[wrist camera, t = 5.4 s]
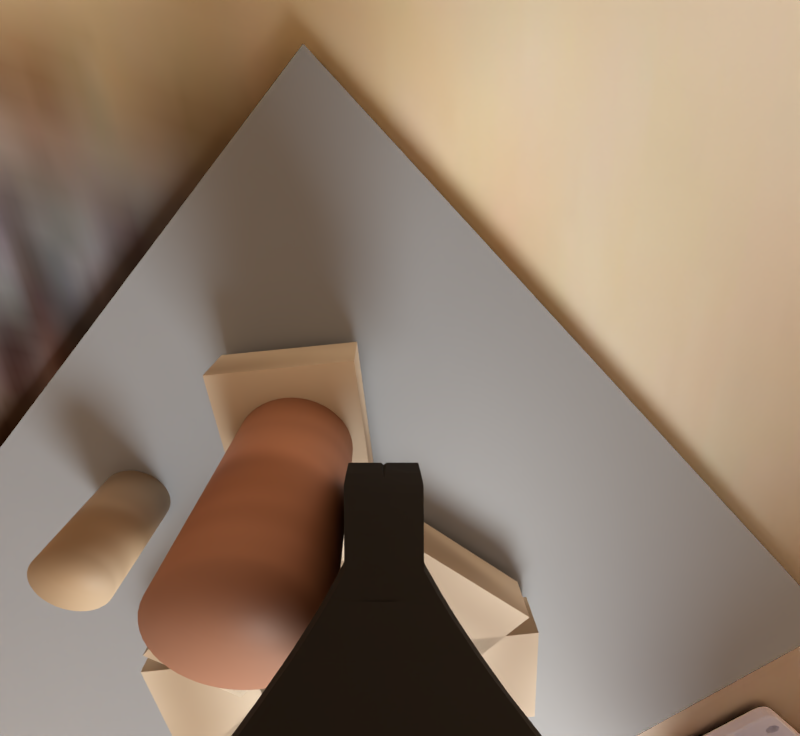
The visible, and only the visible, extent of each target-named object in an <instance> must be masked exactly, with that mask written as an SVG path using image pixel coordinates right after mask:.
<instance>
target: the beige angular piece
mask: <svg viewBox="0 0 800 736" xmlns="http://www.w3.org/2000/svg"><path fill="white" fill-rule="evenodd" d="M203 379H204V383H205V386H206V390H207V393H208V396H209V400H210V403H211V407H212V410H213V414H214V417H215V420H216V424H217V427H218V431H219V434H220V437H221V441H222V444H223V448H224V451H225V454H224V456H223V458H222V460H221V461H220V463H219V465H218V467H217V468H216V470H215V472H214V474H213V475H212V477H211V479H210V480H209V482H208V484H207V486H206V487H205V489H204V491H203V493H202V494H201V496H200V498H199V500H198V501H197V503H196V505H195V507H194V508H193V510H192V512H191V513H190V515H189V517H188V519H187V520H186V522H185V524H184V526H183V527H182V529H181V531H180V533H179V534H178V536H177V538H176V540H175V541H174V543H173V545H172V546H171V548H170V550H169V552H168V553H167V555H166V557H165V559H164V560H163V562H162V564H161V566H160V567H159V569H158V571H157V572H156V574H155V576H154V578H153V579H152V581H151V583H150V585H149V586H148V588H147V590H146V592H145V593H144V595H143V597H142V600H141V602H140V605H139V609H138V626H139V631H140V634H141V636H142V639H143V641H144V642H145V644H146V646H147V648H146V650H145V652H144V654H143V656H145V657H147V660H146V662H145V664H144V666H143V668H142V670H141V674H142V676H143V678H144V680H145V682H146V684H147V686H148V688H149V690H150V692H151V694H152V696H153V698H154V700H155V702H156V704H157V706H158V708H159V710H160V712H161V714H162V716H163V718H164V720H165V722H166V724H167V726H168V728H169V730H170V732H171V734H172V736H231V735H232V734H233V733H234V731H235V730H236V729H237V727H238V726H239V725H240V723H241V722H242V721H243V719H244V718H245V717H246V715H247V714H248V713H249V711H250V710H251V708H252V707H253V706H254V704H255V703H256V702H257V700H258V699H259V697H260V696H261V694H262V693H263V692H264V690H265V689H266V687H267V686H268V684H269V683H270V681H271V680H272V679H273V677H274V676H275V674H276V673H277V671H278V670H279V668H280V667H281V666H282V664H283V663H284V661H285V660H286V658H287V657H288V656H289V654H290V653H291V651H292V650H293V648H294V646H295V645H296V643H297V642H298V640H299V639H300V637H301V636H302V634H303V632H304V631H305V629H306V628H307V626H308V625H309V623H310V621H311V620H312V618H313V616H314V615H315V613H316V612H317V610H318V608H319V607H320V605H321V603H322V601H323V600H324V598H325V596H326V595H327V593H328V591H329V589H330V588H331V586H332V584H333V582H334V580H335V578H336V576H337V574H338V573H339V571H340V569H341V567H342V565H343V563H344V481H345V476H346V471H347V467H348V463H373V456H372V448H371V441H370V434H369V426H368V419H367V412H366V404H365V397H364V390H363V382H362V375H361V368H360V360H359V353H358V346H357V342H349V343H339V344H329V345H319V346H309V347H299V348H288V349H278V350H268V351H258V352H248V353H238V354H227V355H221V356H220V357H219V358H218V359H217V361H216V362H215V363H214V364H213V365H212V366H211V367H210V368H209V369H208V370H207V371H206V372H205V374H204V375H203ZM424 563H425V565H426V567H427V569H428V570H429V572H430V574H431V576H432V577H433V579H434V581H435V583H436V585H437V586H438V588H439V590H440V592H441V593H442V595H443V597H444V598H445V600H446V602H447V603H448V605H449V607H450V608H451V610H452V611H453V613H454V615H455V616H456V618H457V619H458V621H459V623H460V624H461V626H462V627H463V629H464V630H465V632H466V633H467V635H468V636H469V638H470V639H471V641H472V642H473V644H474V645H475V647H476V648H477V650H478V651H479V653H480V654H481V655H482V657H483V658H484V660H485V661H486V662H487V664H488V665H489V667H490V668H491V669H492V671H493V672H494V674H495V675H496V676H497V678H498V679H499V681H500V682H501V683H502V685H503V686H504V688H505V689H506V690H507V692H508V693H509V694H510V696H511V697H512V698H513V700H514V701H515V702H516V703H517V705H518V706H519V707H520V709H521V710H522V711H523V712H524V714H525V715H526V716H527V717H534V716H535V699H536V679H537V658H538V638H539V632H538V629H537V626H536V624H535V621H534V618H533V615H532V612H531V609H530V606H529V603H528V601H527V598H526V597H522V594H521V591H520V588H519V585H518V582H517V581H515V580H514V579H512V578H511V577H509V576H507V575H506V574H504V573H503V572H501V571H500V570H498V569H496V568H495V567H493V566H492V565H490V564H489V563H487V562H486V561H484V560H482V559H481V558H479V557H478V556H476V555H475V554H473V553H471V552H470V551H468V550H467V549H465V548H464V547H462V546H461V545H459V544H457V543H456V542H454V541H453V540H451V539H450V538H448V537H446V536H445V535H443V534H442V533H440V532H439V531H437V530H436V529H434V528H432V527H431V526H429V525H428V524H426V523H425V522H424Z"/></svg>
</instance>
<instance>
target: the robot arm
mask: <svg viewBox="0 0 800 736" xmlns="http://www.w3.org/2000/svg"><path fill="white" fill-rule="evenodd" d="M231 736H542V735H541V734H540V733H539V731H538V730H537V729H536V728H535V726H534V725H533V724H532V722H531V721H530V720H529V719H528V717H527V716H526V715H525V714H524V712H523V711H522V710H521V709H520V707H519V706H518V705H517V703H516V702H515V701H514V700H513V698H512V697H511V696H510V694H509V693H508V692H507V690H506V689H505V688H504V686H503V685H502V683H501V682H500V681H499V679H498V678H497V676H496V675H495V674H494V672H493V671H492V669H491V668H490V667H489V665H488V664H487V662H486V661H485V660H484V658H483V657H482V655H481V654H480V653H479V651H478V650H477V648H476V647H475V645H474V644H473V642H472V641H471V639H470V638H469V636H468V635H467V633H466V632H465V630H464V629H463V627H462V626H461V624H460V623H459V621H458V619H457V618H456V616H455V615H454V613H453V611H452V610H451V608H450V607H449V605H448V603H447V602H446V600H445V598H444V597H443V595H442V593H441V592H440V590H439V588H438V586H437V585H436V583H435V581H434V579H433V577H432V576H431V574H430V572H429V570H428V569H427V567H426V565H425V563H424V485H423V480H422V476H421V471H420V467H419V464H418V463H385V464H384V465H383V464H382V463H348V467H347V471H346V476H345V481H344V563H343V565H342V567H341V569H340V571H339V573H338V574H337V576H336V578H335V580H334V582H333V584H332V586H331V588H330V589H329V591H328V593H327V595H326V596H325V598H324V600H323V601H322V603H321V605H320V607H319V608H318V610H317V612H316V613H315V615H314V616H313V618H312V620H311V621H310V623H309V625H308V626H307V628H306V629H305V631H304V632H303V634H302V636H301V637H300V639H299V640H298V642H297V643H296V645H295V646H294V648H293V650H292V651H291V653H290V654H289V656H288V657H287V658H286V660H285V661H284V663H283V664H282V666H281V667H280V668H279V670H278V671H277V673H276V674H275V676H274V677H273V679H272V680H271V681H270V683H269V684H268V686H267V687H266V689H265V690H264V692H263V693H262V694H261V696H260V697H259V699H258V700H257V702H256V703H255V704H254V706H253V707H252V708H251V710H250V711H249V713H248V714H247V715H246V717H245V718H244V719H243V721H242V722H241V723H240V725H239V726H238V727H237V729H236V730H235V731H234V733H233V734H232V735H231ZM703 736H800V734H799V733H798V732H797V731H796V730H795V729H794V728H792V727H791V726H790V725H789V724H788V723H787V722H785V721H784V720H783V719H782V718H781V717H780V716H779V715H777V714H776V713H775V712H774V711H773V710H772V709H770V708H768V707H757V708H755V709H753V710H751V711H749V712H747V713H745V714H743V715H741V716H739V717H737V718H735V719H734V720H732V721H730V722H728V723H726V724H724V725H722V726H720V727H718V728H716V729H714V730H713V731H711V732H709V733H707V734H705V735H703Z"/></svg>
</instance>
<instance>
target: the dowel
mask: <svg viewBox="0 0 800 736" xmlns="http://www.w3.org/2000/svg"><path fill="white" fill-rule="evenodd" d="M170 504H171V500H170V495H169V493H168V491H167V489H166V488H165V486H164V485H163V484H162V483H161V482H160V481H159V480H157V479H156V478H154V477H153V476H151V475H148V474H146V473H143V472H139V471H122V472H118V473H116V474H114V475H112V476H111V477H109V478H108V479H107V480H106V481H105V483H104V484H103V485H102V486H101V487H100V488H99V489H98V490H97V491H96V492H95V493H94V494H93V496H92V497H91V498H90V499H89V500H88V501H87V502H86V503H85V504H84V505H83V506H82V507H81V509H80V510H79V511H78V512H77V513H76V514H75V515H74V516H73V517H72V518H71V519H70V520H69V522H68V523H67V524H66V525H65V526H64V527H63V528H62V529H61V530H60V531H59V532H58V534H57V535H56V536H55V537H54V538H53V539H52V540H51V541H50V542H49V543H48V544H47V545H46V547H45V548H44V549H43V550H42V551H41V552H40V553H39V554H38V555H37V556H36V557H35V558H34V560H33V561H32V562H31V563H30V565H29V567H28V570H27V579H28V582H29V584H30V586H31V588H32V589H33V591H34V592H35V593H36V594H37V595H38V596H39V597H41V598H42V599H43V600H45V601H46V602H48V603H50V604H52V605H54V606H56V607H59V608H62V609H66V610H71V611H90V610H95V609H98V608H100V607H102V606H104V605H106V604H107V603H108V602H109V601H110V600H111V599H112V597H113V596H114V594H115V592H116V591H117V589H118V588H119V586H120V585H121V583H122V582H123V580H124V579H125V577H126V576H127V574H128V572H129V571H130V569H131V568H132V566H133V565H134V563H135V562H136V560H137V559H138V557H139V555H140V554H141V552H142V551H143V549H144V548H145V546H146V545H147V543H148V542H149V540H150V538H151V537H152V535H153V534H154V532H155V531H156V529H157V528H158V526H159V525H160V523H161V521H162V520H163V518H164V517H165V515H166V514H167V512H168V510H169V508H170Z"/></svg>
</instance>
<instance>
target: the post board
mask: <svg viewBox="0 0 800 736" xmlns="http://www.w3.org/2000/svg"><path fill="white" fill-rule="evenodd" d="M349 342H357V346H358V353H359V360H360V368H361V375H362V382H363V390H364V397H365V404H366V412H367V419H368V426H369V434H370V441H371V448H372V456H373V463H382V464H383V465H384V464H385V463H418V464H419V467H420V471H421V476H422V480H423V485H424V522H425V523H426V524H428V525H429V526H431V527H432V528H434V529H436V530H437V531H439V532H440V533H442V534H443V535H445V536H446V537H448V538H450V539H451V540H453V541H454V542H456V543H457V544H459V545H461V546H462V547H464V548H465V549H467V550H468V551H470V552H471V553H473V554H475V555H476V556H478V557H479V558H481V559H482V560H484V561H486V562H487V563H489V564H490V565H492V566H493V567H495V568H496V569H498V570H500V571H501V572H503V573H504V574H506V575H507V576H509V577H511V578H512V579H514V580H515V581H517V582H518V585H519V588H520V591H521V594H522V597H526V598H527V601H528V603H529V606H530V609H531V612H532V615H533V618H534V621H535V624H536V626H537V629H538V632H539V638H538V658H537V679H536V699H535V716H534V717H528V719H529V720H530V721H531V722H532V724H533V725H534V726H535V728H536V729H537V730H538V731H539V733H540V734H541V735H542V736H637V735H639V734H641V733H642V732H644V731H646V730H648V729H650V728H652V727H653V726H655V725H657V724H659V723H661V722H663V721H664V720H666V719H668V718H670V717H672V716H673V715H675V714H677V713H679V712H681V711H683V710H684V709H686V708H688V707H690V706H692V705H693V704H695V703H697V702H699V701H701V700H703V699H704V698H706V697H708V696H710V695H712V694H714V693H715V692H717V691H719V690H721V689H723V688H724V687H726V686H728V685H730V684H732V683H734V682H735V681H737V680H739V679H741V678H743V677H744V676H746V675H748V674H750V673H752V672H754V671H755V670H757V669H759V668H761V667H763V666H764V665H766V664H768V663H770V662H772V661H774V660H775V659H777V658H779V657H781V656H783V655H785V654H786V653H788V652H790V651H792V650H794V649H795V648H797V647H799V646H800V585H799V584H798V583H797V582H796V581H795V580H794V579H793V578H792V577H791V575H790V574H789V573H788V572H787V571H786V570H785V569H784V568H783V567H782V566H781V565H780V563H779V562H778V561H777V560H776V559H775V558H774V557H773V556H772V555H771V554H770V553H769V551H768V550H767V549H766V548H765V547H764V546H763V545H762V544H761V543H760V542H759V541H758V539H757V538H756V537H755V536H754V535H753V534H752V533H751V532H750V531H749V530H748V529H747V527H746V526H745V525H744V524H743V523H742V522H741V521H740V520H739V519H738V518H737V517H736V515H735V514H734V513H733V512H732V511H731V510H730V509H729V508H728V507H727V506H726V505H725V503H724V502H723V501H722V500H721V499H720V498H719V497H718V496H717V495H716V494H715V493H714V491H713V490H712V489H711V488H710V487H709V486H708V485H707V484H706V483H705V482H704V481H703V479H702V478H701V477H700V476H699V475H698V474H697V473H696V472H695V471H694V470H693V469H692V467H691V466H690V465H689V464H688V463H687V462H686V461H685V460H684V459H683V458H682V457H681V455H680V454H679V453H678V452H677V451H676V450H675V449H674V448H673V447H672V446H671V445H670V443H669V442H668V441H667V440H666V439H665V438H664V437H663V436H662V435H661V434H660V433H659V431H658V430H657V429H656V428H655V427H654V426H653V425H652V424H651V423H650V422H649V421H648V419H647V418H646V417H645V416H644V415H643V414H642V413H641V412H640V411H639V410H638V409H637V407H636V406H635V405H634V404H633V403H632V402H631V401H630V400H629V399H628V398H627V397H626V395H625V394H624V393H623V392H622V391H621V390H620V389H619V388H618V387H617V386H616V385H615V383H614V382H613V381H612V380H611V379H610V378H609V377H608V376H607V375H606V374H605V373H604V371H603V370H602V369H601V368H600V367H599V366H598V365H597V364H596V363H595V362H594V361H593V359H592V358H591V357H590V356H589V355H588V354H587V353H586V352H585V351H584V350H583V349H582V347H581V346H580V345H579V344H578V343H577V342H576V341H575V340H574V339H573V338H572V337H571V335H570V334H569V333H568V332H567V331H566V330H565V329H564V328H563V327H562V326H561V325H560V323H559V322H558V321H557V320H556V319H555V318H554V317H553V316H552V315H551V314H550V313H549V311H548V310H547V309H546V308H545V307H544V306H543V305H542V304H541V303H540V302H539V301H538V299H537V298H536V297H535V296H534V295H533V294H532V293H531V292H530V291H529V290H528V289H527V287H526V286H525V285H524V284H523V283H522V282H521V281H520V280H519V279H518V278H517V277H516V275H515V274H514V273H513V272H512V271H511V270H510V269H509V268H508V267H507V266H506V265H505V263H504V262H503V261H502V260H501V259H500V258H499V257H498V256H497V255H496V254H495V253H494V251H493V250H492V249H491V248H490V247H489V246H488V245H487V244H486V243H485V242H484V241H483V239H482V238H481V237H480V236H479V235H478V234H477V233H476V232H475V231H474V230H473V229H472V227H471V226H470V225H469V224H468V223H467V222H466V221H465V220H464V219H463V218H462V217H461V215H460V214H459V213H458V212H457V211H456V210H455V209H454V208H453V207H452V206H451V204H450V203H449V202H448V201H447V200H446V199H445V198H444V197H443V196H442V195H441V194H440V192H439V191H438V190H437V189H436V188H435V187H434V186H433V185H432V184H431V183H430V182H429V180H428V179H427V178H426V177H425V176H424V175H423V174H422V173H421V172H420V171H419V170H418V168H417V167H416V166H415V165H414V164H413V163H412V162H411V161H410V160H409V159H408V158H407V156H406V155H405V154H404V153H403V152H402V151H401V150H400V149H399V148H398V147H397V146H396V144H395V143H394V142H393V141H392V140H391V139H390V138H389V137H388V136H387V135H386V134H385V132H384V131H383V130H382V129H381V128H380V127H379V126H378V125H377V124H376V123H375V122H374V120H373V119H372V118H371V117H370V116H369V115H368V114H367V113H366V112H365V111H364V110H363V108H362V107H361V106H360V105H359V104H358V103H357V102H356V101H355V100H354V99H353V98H352V96H351V95H350V94H349V93H348V92H347V91H346V90H345V89H344V88H343V87H342V86H341V84H340V83H339V82H338V81H337V80H336V79H335V78H334V77H333V76H332V75H331V74H330V72H329V71H328V70H327V69H326V68H325V67H324V66H323V65H322V64H321V63H320V62H319V60H318V59H317V58H316V57H315V56H314V55H313V54H312V53H311V52H310V51H309V50H308V48H307V47H306V46H305V45H304V44H302V46H301V47H300V48H299V50H298V51H297V52H296V54H295V55H294V56H293V58H292V59H291V60H290V62H289V63H288V64H287V66H286V67H285V68H284V70H283V71H282V72H281V74H280V75H279V76H278V78H277V79H276V80H275V82H274V83H273V84H272V86H271V87H270V88H269V90H268V91H267V92H266V94H265V95H264V96H263V98H262V99H261V100H260V102H259V103H258V104H257V106H256V107H255V108H254V110H253V111H252V112H251V114H250V115H249V116H248V118H247V119H246V120H245V122H244V123H243V124H242V126H241V127H240V128H239V130H238V131H237V132H236V134H235V135H234V136H233V138H232V139H231V140H230V142H229V143H228V144H227V146H226V147H225V148H224V150H223V151H222V152H221V154H220V155H219V156H218V158H217V159H216V160H215V162H214V163H213V164H212V166H211V167H210V168H209V170H208V171H207V172H206V174H205V175H204V176H203V178H202V179H201V180H200V182H199V183H198V184H197V186H196V187H195V189H194V190H193V191H192V193H191V194H190V195H189V197H188V198H187V199H186V201H185V202H184V203H183V205H182V206H181V207H180V209H179V210H178V211H177V213H176V214H175V215H174V217H173V218H172V219H171V221H170V222H169V223H168V225H167V226H166V227H165V229H164V230H163V231H162V233H161V234H160V235H159V237H158V238H157V239H156V241H155V242H154V243H153V245H152V246H151V247H150V249H149V250H148V251H147V253H146V254H145V255H144V257H143V258H142V259H141V261H140V262H139V263H138V265H137V266H136V267H135V269H134V270H133V271H132V273H131V274H130V275H129V277H128V278H127V279H126V281H125V282H124V283H123V285H122V286H121V287H120V289H119V290H118V291H117V293H116V294H115V295H114V297H113V298H112V299H111V301H110V302H109V303H108V305H107V306H106V307H105V309H104V310H103V311H102V313H101V314H100V315H99V317H98V318H97V319H96V321H95V322H94V323H93V325H92V326H91V327H90V329H89V330H88V331H87V333H86V334H85V335H84V337H83V338H82V339H81V341H80V342H79V343H78V345H77V346H76V347H75V349H74V350H73V351H72V353H71V354H70V355H69V357H68V358H67V359H66V361H65V362H64V363H63V365H62V366H61V367H60V369H59V370H58V371H57V373H56V374H55V375H54V377H53V378H52V379H51V381H50V382H49V383H48V385H47V386H46V387H45V389H44V390H43V391H42V393H41V394H40V395H39V397H38V398H37V399H36V401H35V402H34V403H33V405H32V406H31V407H30V409H29V410H28V411H27V413H26V414H25V415H24V417H23V418H22V419H21V421H20V422H19V423H18V425H17V426H16V427H15V429H14V430H13V431H12V433H11V434H10V435H9V437H8V438H7V439H6V441H5V442H4V443H3V445H2V446H1V447H0V736H172V734H171V732H170V730H169V728H168V726H167V724H166V722H165V720H164V718H163V716H162V714H161V712H160V710H159V708H158V706H157V704H156V702H155V700H154V698H153V696H152V694H151V692H150V690H149V688H148V686H147V684H146V682H145V680H144V678H143V676H142V674H141V670H142V668H143V666H144V664H145V662H146V660H147V657H145V656H143V654H144V652H145V650H146V648H147V646H146V644H145V642H144V641H143V639H142V636H141V634H140V631H139V626H138V609H139V605H140V602H141V600H142V597H143V595H144V593H145V592H146V590H147V588H148V586H149V585H150V583H151V581H152V579H153V578H154V576H155V574H156V572H157V571H158V569H159V567H160V566H161V564H162V562H163V560H164V559H165V557H166V555H167V553H168V552H169V550H170V548H171V546H172V545H173V543H174V541H175V540H176V538H177V536H178V534H179V533H180V531H181V529H182V527H183V526H184V524H185V522H186V520H187V519H188V517H189V515H190V513H191V512H192V510H193V508H194V507H195V505H196V503H197V501H198V500H199V498H200V496H201V494H202V493H203V491H204V489H205V487H206V486H207V484H208V482H209V480H210V479H211V477H212V475H213V474H214V472H215V470H216V468H217V467H218V465H219V463H220V461H221V460H222V458H223V456H224V454H225V451H224V448H223V444H222V441H221V437H220V434H219V431H218V427H217V424H216V420H215V417H214V414H213V410H212V407H211V403H210V400H209V396H208V393H207V390H206V386H205V383H204V379H203V375H204V374H205V372H206V371H207V370H208V369H209V368H210V367H211V366H212V365H213V364H214V363H215V362H216V361H217V359H218V358H219V357H220V356H221V355H227V354H238V353H248V352H258V351H268V350H278V349H288V348H299V347H309V346H319V345H329V344H339V343H349ZM122 471H139V472H143V473H146V474H148V475H151V476H153V477H154V478H156V479H157V480H159V481H160V482H161V483H162V484H163V485H164V486H165V488H166V489H167V491H168V493H169V495H170V500H171V504H170V508H169V510H168V512H167V514H166V515H165V517H164V518H163V520H162V521H161V523H160V525H159V526H158V528H157V529H156V531H155V532H154V534H153V535H152V537H151V538H150V540H149V542H148V543H147V545H146V546H145V548H144V549H143V551H142V552H141V554H140V555H139V557H138V559H137V560H136V562H135V563H134V565H133V566H132V568H131V569H130V571H129V572H128V574H127V576H126V577H125V579H124V580H123V582H122V583H121V585H120V586H119V588H118V589H117V591H116V592H115V594H114V596H113V597H112V599H111V600H110V601H109V602H108V603H107V604H106V605H104V606H102V607H100V608H98V609H95V610H90V611H71V610H66V609H62V608H59V607H56V606H54V605H52V604H50V603H48V602H46V601H45V600H43V599H42V598H41V597H39V596H38V595H37V594H36V593H35V592H34V591H33V589H32V588H31V586H30V584H29V582H28V579H27V570H28V567H29V565H30V563H31V562H32V561H33V560H34V558H35V557H36V556H37V555H38V554H39V553H40V552H41V551H42V550H43V549H44V548H45V547H46V545H47V544H48V543H49V542H50V541H51V540H52V539H53V538H54V537H55V536H56V535H57V534H58V532H59V531H60V530H61V529H62V528H63V527H64V526H65V525H66V524H67V523H68V522H69V520H70V519H71V518H72V517H73V516H74V515H75V514H76V513H77V512H78V511H79V510H80V509H81V507H82V506H83V505H84V504H85V503H86V502H87V501H88V500H89V499H90V498H91V497H92V496H93V494H94V493H95V492H96V491H97V490H98V489H99V488H100V487H101V486H102V485H103V484H104V483H105V481H106V480H107V479H108V478H109V477H111V476H112V475H114V474H116V473H118V472H122Z"/></svg>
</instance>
